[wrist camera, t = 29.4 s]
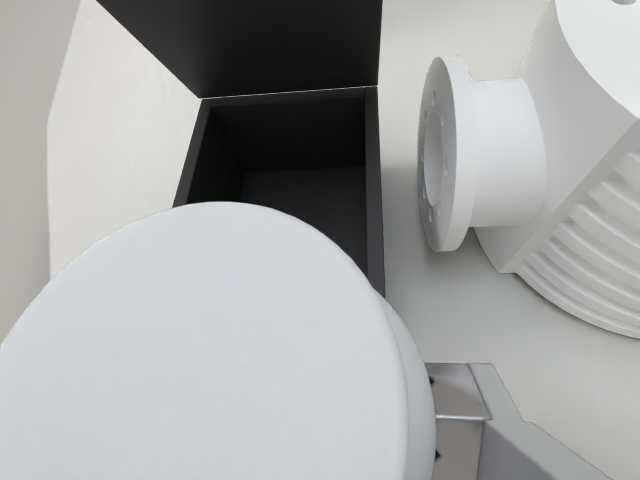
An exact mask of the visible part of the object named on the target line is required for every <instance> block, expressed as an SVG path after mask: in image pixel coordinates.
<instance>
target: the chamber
mask: <svg viewBox="0 0 640 480" xmlns="http://www.w3.org/2000/svg"><path fill="white" fill-rule="evenodd" d="M204 202H238V203H247V204H253V205H259V206H263V207H268V208H272V209H275V210H277V211H280V212H283V213H285V214H288V215H291V216H293V217H296V218H298V219H299V220H301V221H303V222H305V223H307V224H309V225H311V226H312V227H314V228H315V229H317V230H318V231H320V232H321V233H323V234H324V235H325V236H327V237H328V238H329V239H330V240H332V241H333V242H334V243H335V244H337V245H338V246H339V247H340V248H341V249H342V250H343V251H344V252H345V253H346V254H347V255H348V256H349V257H350V258H351V259H352V260H353V261H354V263H355V264H356V265H357V266H358V267H359V269H360V270H361V271H362V272H363V274H364V275H365V276H366V278H367V280H368V281H369V283H370V284H371V286H372V287H373V288H374V289H375V290H376V291H377V292H378V293H379V294H380V295H381V296H382V297H383V298H384V299H385V273H384V247H383V221H382V195H381V168H380V142H379V116H378V90H377V86H373V87H365V88H364V87H360V88H346V89H332V90H318V91H305V92H291V93H277V94H263V95H250V96H236V97H222V98H213V99H212V98H210V99H202V101H201V105H200V109H199V112H198V116H197V120H196V123H195V127H194V130H193V134H192V138H191V141H190V145H189V149H188V152H187V156H186V160H185V163H184V167H183V171H182V174H181V178H180V181H179V185H178V189H177V192H176V196H175V200H174V203H173V207H172V208H175V207H179V206H183V205H187V204H195V203H204Z"/></svg>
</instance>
